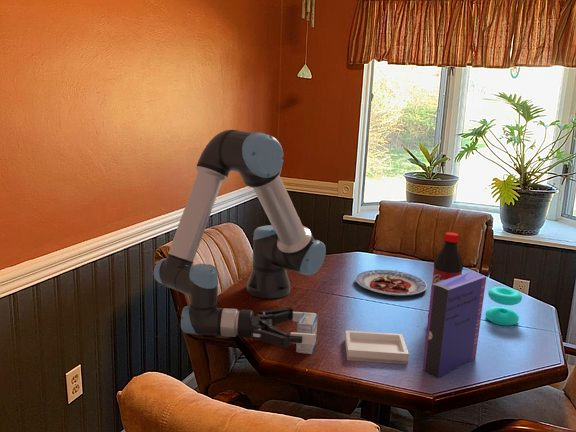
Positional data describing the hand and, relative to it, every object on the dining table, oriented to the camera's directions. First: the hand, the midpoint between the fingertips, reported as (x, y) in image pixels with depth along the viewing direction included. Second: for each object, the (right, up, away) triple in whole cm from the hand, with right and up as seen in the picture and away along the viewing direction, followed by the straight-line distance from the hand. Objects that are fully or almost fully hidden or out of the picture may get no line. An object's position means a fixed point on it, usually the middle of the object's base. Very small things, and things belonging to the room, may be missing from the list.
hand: (315, 328), depth 154 cm
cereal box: (+35, -9, -4) cm, 37 cm away
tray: (+16, -7, +1) cm, 18 cm away
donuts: (+61, -3, +26) cm, 66 cm away
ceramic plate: (+30, +4, +52) cm, 60 cm away
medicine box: (-2, -6, +2) cm, 7 cm away
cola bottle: (+39, -4, +19) cm, 44 cm away
